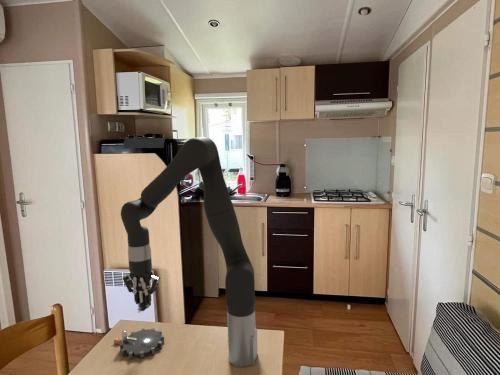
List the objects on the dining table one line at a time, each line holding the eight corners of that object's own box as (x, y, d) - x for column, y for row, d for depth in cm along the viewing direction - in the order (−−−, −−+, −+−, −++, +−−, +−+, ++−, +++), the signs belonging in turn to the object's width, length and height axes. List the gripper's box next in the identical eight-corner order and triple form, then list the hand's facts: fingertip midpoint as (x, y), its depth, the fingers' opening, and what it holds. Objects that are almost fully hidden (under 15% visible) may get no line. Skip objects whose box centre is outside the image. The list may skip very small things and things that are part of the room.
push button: (145, 314, 107) (143, 286, 106) (131, 313, 108) (129, 285, 107) (155, 304, 113) (153, 278, 112) (141, 303, 114) (139, 277, 113)
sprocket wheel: (171, 335, 118) (170, 320, 117) (150, 361, 103) (149, 345, 103) (136, 330, 121) (134, 316, 120) (111, 356, 107) (109, 340, 106)
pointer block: (124, 341, 115) (123, 337, 115) (120, 344, 113) (120, 341, 113) (117, 340, 116) (116, 336, 116) (113, 343, 114) (113, 340, 114)
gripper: (115, 259, 106) (119, 307, 108) (152, 261, 103) (155, 310, 105) (128, 252, 113) (131, 296, 116) (163, 254, 110) (166, 300, 113)
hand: (143, 303), depth 110 cm, fingers closed on push button, 3 cm apart
